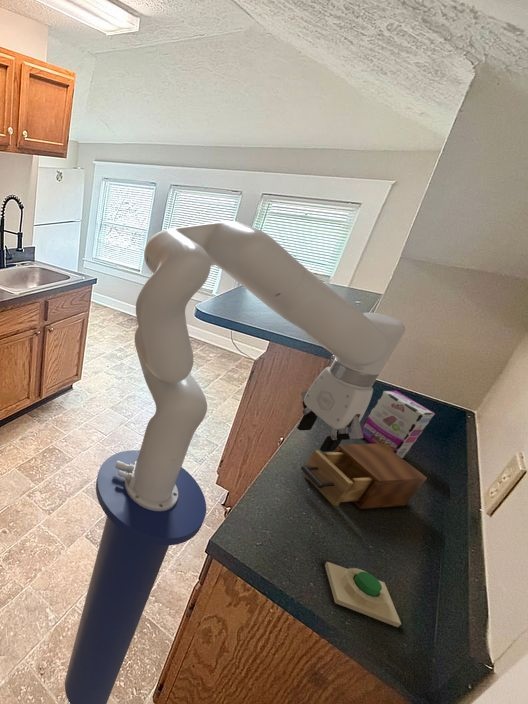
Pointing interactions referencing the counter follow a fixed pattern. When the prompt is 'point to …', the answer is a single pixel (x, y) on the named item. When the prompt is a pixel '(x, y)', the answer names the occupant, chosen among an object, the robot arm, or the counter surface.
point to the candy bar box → (396, 422)
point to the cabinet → (384, 475)
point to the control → (360, 595)
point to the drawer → (337, 477)
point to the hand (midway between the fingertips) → (314, 439)
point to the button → (368, 583)
